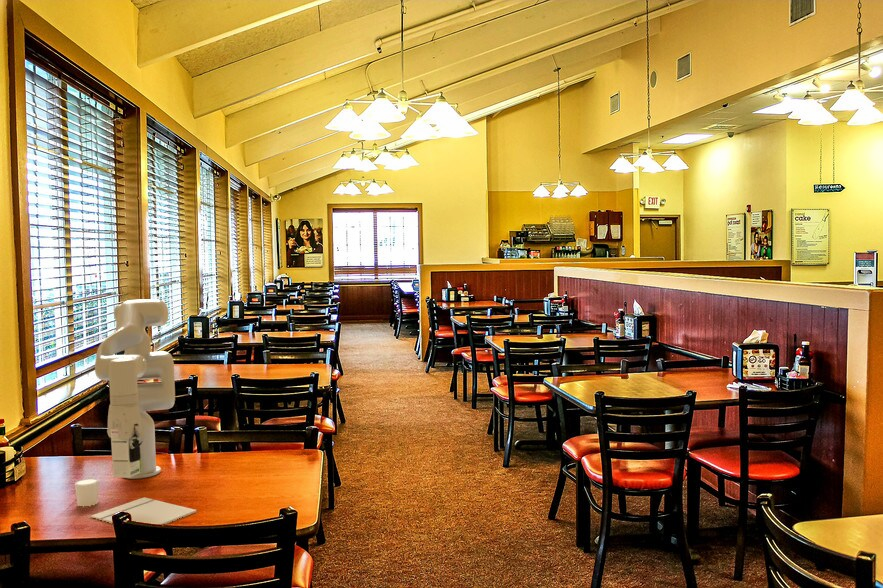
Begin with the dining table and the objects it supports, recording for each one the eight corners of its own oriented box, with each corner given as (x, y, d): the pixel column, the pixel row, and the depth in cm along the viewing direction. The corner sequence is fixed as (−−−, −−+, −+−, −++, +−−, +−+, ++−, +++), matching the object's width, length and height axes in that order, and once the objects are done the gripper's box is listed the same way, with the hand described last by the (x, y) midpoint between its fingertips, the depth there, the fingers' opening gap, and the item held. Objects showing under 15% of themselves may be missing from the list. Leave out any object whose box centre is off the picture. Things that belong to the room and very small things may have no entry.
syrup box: (130, 478, 210) (128, 429, 209) (112, 477, 211) (110, 428, 210) (141, 472, 215) (140, 424, 214) (124, 471, 216) (122, 424, 216)
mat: (90, 517, 208) (90, 515, 208) (144, 499, 224) (143, 497, 224) (144, 532, 196) (143, 530, 196) (196, 511, 212) (196, 509, 212)
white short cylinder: (83, 509, 216) (82, 486, 215) (70, 505, 219) (69, 482, 219) (104, 502, 222) (103, 480, 221) (91, 498, 225) (90, 476, 225)
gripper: (94, 399, 213) (97, 458, 214) (131, 404, 204) (134, 466, 205) (117, 395, 220) (119, 452, 220) (154, 400, 211) (156, 460, 212)
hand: (126, 458), depth 213 cm, fingers closed on syrup box, 7 cm apart
